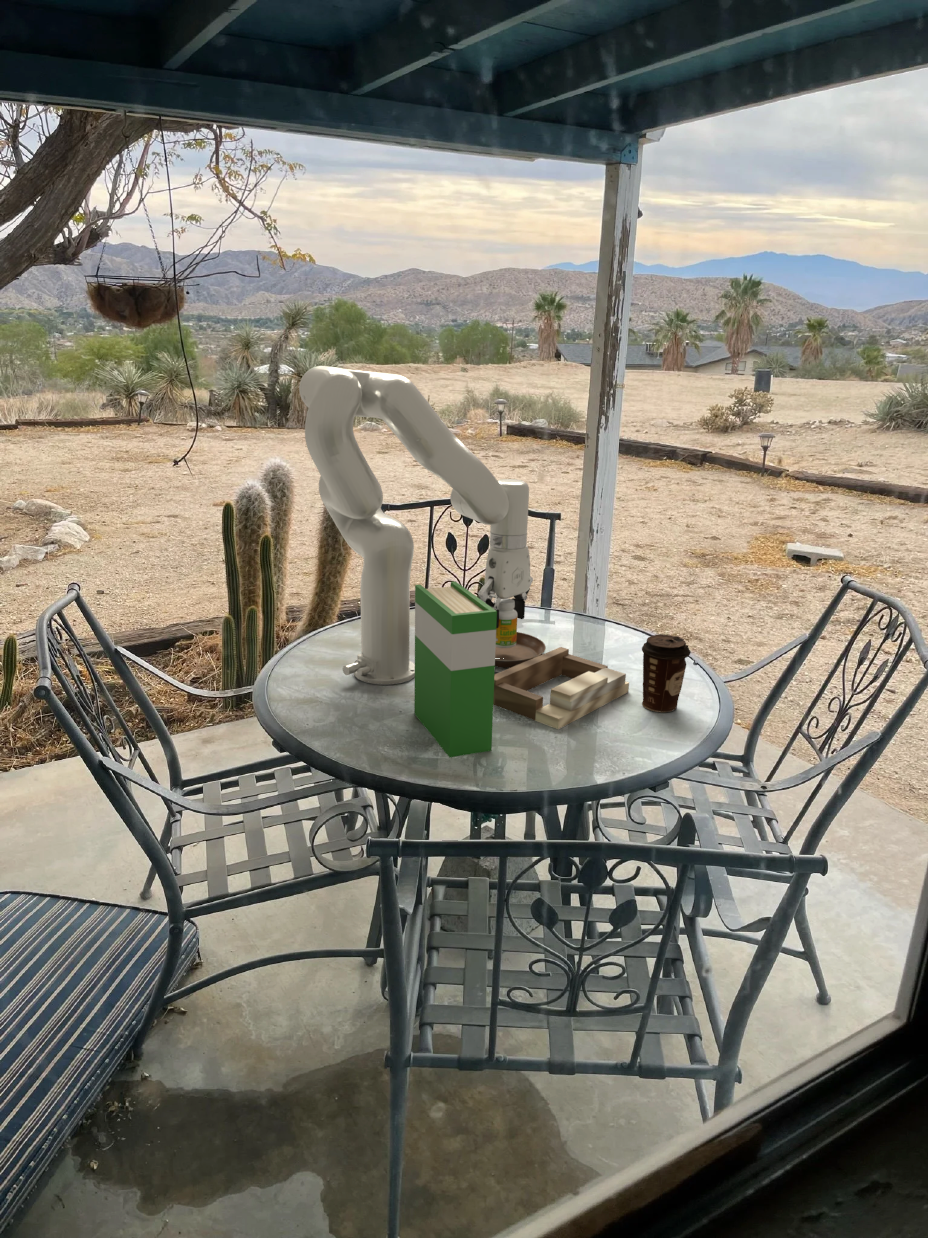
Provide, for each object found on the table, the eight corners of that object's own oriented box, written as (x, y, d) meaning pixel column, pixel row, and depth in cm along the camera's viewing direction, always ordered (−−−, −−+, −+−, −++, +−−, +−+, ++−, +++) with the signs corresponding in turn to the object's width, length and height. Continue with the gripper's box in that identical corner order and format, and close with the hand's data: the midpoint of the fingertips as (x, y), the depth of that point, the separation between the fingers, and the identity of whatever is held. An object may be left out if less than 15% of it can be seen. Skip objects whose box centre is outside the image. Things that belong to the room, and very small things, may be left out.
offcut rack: (558, 729, 147) (560, 702, 145) (486, 702, 157) (487, 676, 156) (628, 692, 163) (630, 667, 162) (559, 669, 174) (560, 645, 172)
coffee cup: (686, 701, 160) (693, 636, 156) (682, 718, 153) (689, 651, 148) (639, 694, 163) (645, 630, 159) (633, 711, 155) (639, 644, 151)
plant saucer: (548, 674, 173) (548, 660, 172) (461, 671, 173) (461, 657, 172) (542, 644, 190) (542, 631, 189) (462, 642, 190) (463, 629, 189)
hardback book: (414, 713, 152) (415, 584, 144) (452, 708, 155) (455, 581, 147) (449, 757, 136) (452, 615, 129) (491, 750, 139) (496, 611, 132)
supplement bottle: (498, 650, 177) (500, 605, 174) (486, 642, 181) (487, 598, 178) (520, 646, 179) (522, 602, 176) (508, 638, 184) (509, 595, 181)
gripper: (495, 551, 165) (492, 636, 170) (548, 537, 177) (543, 617, 183) (466, 544, 169) (464, 627, 175) (520, 531, 182) (516, 609, 187)
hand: (504, 621), depth 179 cm, fingers open, 8 cm apart
